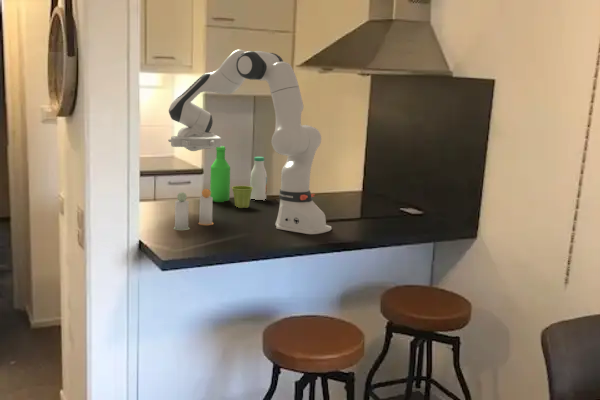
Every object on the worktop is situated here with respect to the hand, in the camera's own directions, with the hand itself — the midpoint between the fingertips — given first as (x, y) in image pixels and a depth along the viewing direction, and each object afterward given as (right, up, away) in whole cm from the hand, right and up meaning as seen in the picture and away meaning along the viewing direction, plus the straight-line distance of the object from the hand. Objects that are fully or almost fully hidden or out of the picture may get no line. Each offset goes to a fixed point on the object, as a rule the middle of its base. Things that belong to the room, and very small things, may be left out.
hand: (200, 143), depth 251 cm
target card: (-1, -32, -10) cm, 34 cm away
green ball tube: (-5, -32, -15) cm, 36 cm away
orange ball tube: (+3, -31, -6) cm, 31 cm away
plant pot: (+13, -25, +32) cm, 43 cm away
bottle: (+2, -22, +43) cm, 49 cm away
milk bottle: (+19, -22, +50) cm, 58 cm away
